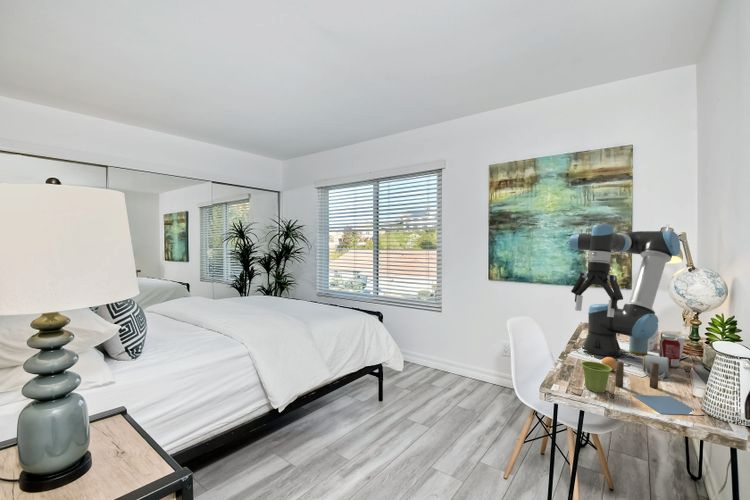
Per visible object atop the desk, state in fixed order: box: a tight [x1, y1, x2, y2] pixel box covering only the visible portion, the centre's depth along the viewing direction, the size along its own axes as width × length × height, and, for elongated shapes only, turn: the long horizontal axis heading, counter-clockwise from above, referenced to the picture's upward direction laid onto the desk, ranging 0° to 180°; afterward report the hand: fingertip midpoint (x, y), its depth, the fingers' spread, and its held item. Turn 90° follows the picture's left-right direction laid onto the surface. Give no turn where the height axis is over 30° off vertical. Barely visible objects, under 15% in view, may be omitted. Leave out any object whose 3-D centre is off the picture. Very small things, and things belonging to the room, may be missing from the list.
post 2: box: [649, 362, 659, 390], centre depth 127 cm, size 2×2×9 cm
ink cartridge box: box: [648, 327, 659, 352], centre depth 173 cm, size 9×5×15 cm, turn 115°
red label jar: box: [661, 333, 687, 359], centre depth 161 cm, size 8×8×10 cm
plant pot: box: [580, 360, 613, 393], centre depth 125 cm, size 9×9×9 cm
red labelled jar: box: [658, 336, 681, 368], centre depth 150 cm, size 7×7×12 cm
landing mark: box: [632, 394, 695, 416], centre depth 114 cm, size 13×13×1 cm
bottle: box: [628, 336, 649, 356], centre depth 166 cm, size 7×7×15 cm
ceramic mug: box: [642, 354, 670, 381], centre depth 138 cm, size 11×8×8 cm
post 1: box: [614, 360, 625, 388], centre depth 128 cm, size 2×2×9 cm
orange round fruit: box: [601, 356, 617, 372], centre depth 143 cm, size 6×6×6 cm
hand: (593, 313), depth 141 cm, fingers open, 13 cm apart
